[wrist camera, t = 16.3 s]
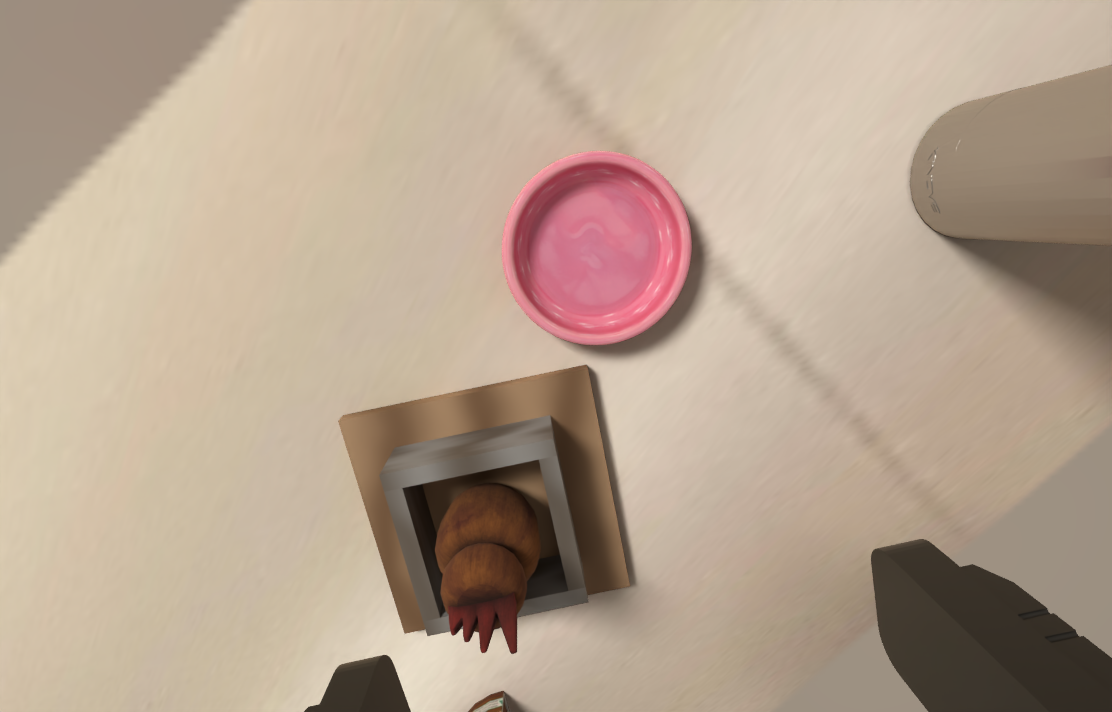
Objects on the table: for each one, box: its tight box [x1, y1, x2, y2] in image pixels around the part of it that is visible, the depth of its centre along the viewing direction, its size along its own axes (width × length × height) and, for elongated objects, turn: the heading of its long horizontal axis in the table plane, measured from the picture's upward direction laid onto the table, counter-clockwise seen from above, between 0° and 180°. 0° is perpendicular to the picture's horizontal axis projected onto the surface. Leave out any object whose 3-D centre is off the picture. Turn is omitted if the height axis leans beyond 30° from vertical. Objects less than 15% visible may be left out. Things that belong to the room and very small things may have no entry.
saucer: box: [502, 151, 692, 345], centre depth 38 cm, size 12×12×3 cm
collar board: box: [338, 365, 630, 636], centre depth 41 cm, size 18×18×6 cm
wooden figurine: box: [435, 483, 541, 654], centre depth 35 cm, size 7×6×15 cm
